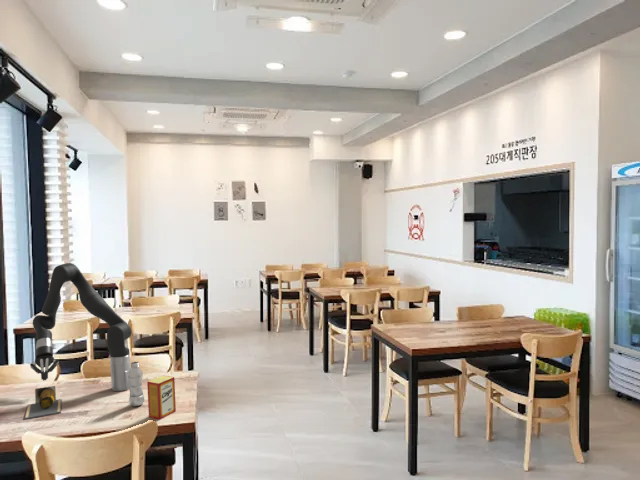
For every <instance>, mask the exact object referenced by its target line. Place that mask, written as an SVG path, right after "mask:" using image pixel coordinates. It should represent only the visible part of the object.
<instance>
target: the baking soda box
mask: <svg viewBox="0 0 640 480" xmlns="http://www.w3.org/2000/svg"><path fill="white" fill-rule="evenodd" d="M146 383H147V384H146V385H147V403H148V405H147V406H148V407H147V408H148V418H151V419H155V420H162V419H164V418H167V417H168V416H170V415H171V414H173V413H176V411H177V409H176V386H175V385H176V384H175V383H176V381H175V376H170V375H160V376H158V377H154V378H152V379H150V380H148V381H147V382H146Z"/></svg>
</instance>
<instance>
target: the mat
mask: <svg viewBox="0 0 640 480" xmlns="http://www.w3.org/2000/svg"><path fill="white" fill-rule="evenodd" d="M61 411H62V398H60V399H56V400H54V402H53V404H52V406H51V407H49V408H42V407H41V406H40V403H30V404H27V406H26V411H25V415H24V420H30V419H37V418H40V417H45V416H46V417H47V416H52V415H58V414H61V413H62V412H61Z"/></svg>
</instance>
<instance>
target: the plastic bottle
mask: <svg viewBox="0 0 640 480" xmlns="http://www.w3.org/2000/svg"><path fill="white" fill-rule="evenodd" d="M130 368H131V370H130V371H129V373H128V379H129V384H130V388H129V399H128V402H129V405H130V406H131V407H138V406H139V407H140V406H141V405H143V404H144V402H145V396H144V391H143V376H144V375H143V373H144V372H143V371H142V369H141V368H140V362H139V361H133V362H130Z"/></svg>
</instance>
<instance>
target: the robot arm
mask: <svg viewBox="0 0 640 480" xmlns="http://www.w3.org/2000/svg"><path fill="white" fill-rule="evenodd" d="M68 282H71V283H72V284H73V285H74V287H75V288H76V289H77V293H78V297H79V300H80V303H81V305H82V306H83V307H84V308H85V309H86V310H87V312H88V313H90V314H91V315H93V316H94V317H96V318H98V319H100V320H101V321H103V322H105V323H106V324H107V325H108V326H109V327H108V329H107V330H106V331H107V332H106V342H107V351H108V353H109V358H110V359H109V360H110V362H109V363H110V379H111V380H110V381H111V383H110V385H111V391H114V392H123V391H128V390H130V384H129V379H128V373H129V371H130V370H131V357H130V348H129V347H126V345H125V344H126V343H125V341H126V340H127V339H129V338H131V336H132V328H131V326H130V325H129V324H128V322H127V321H125V320H124V319H123V318H122V317H120V315H119V314H118V313H117V312H116V311H115V310H113V308H112V307H111V306H110V305H109V304H108V303H107V301H106V300H105V299H104V298H103V297H102V296H101V295H100V293H99V292H97V290H95V288H94V286H92V285H91V283H90V282H89V281H88V280H87V278H86V277H85V275H84V274H83V273H82V272H81V270H80V269H79V267H78V265H76V264H75V263H72V262H67V263H62V264H59V265H57V266H55V267H54V269H53V270H52V273H51V277H50V282H49V287H48V291H47V296H46V299H45V301H44V303H43V306H42V309H41V312H42V314H43V315H42V314H41V315H40V314H38V315H36V316H34V318H33V320H32V327H33V329H34V332H35V335H36V344H35V359H34V362H33V363H29V366H30V369H32V370H33V371H34V372H35V373H36V374H40V378H41V380H42V381H47V380H48V379H49V373H51V372H53V370H54V369H56V367H57V366H58V365H59V362H60V361H59V360H58V359H55V357H54V346H53V345H54V343H53V333H52V331H51V330H53V329H54V327H55V326H56V323H57V322H56V319H57V312H58V310H59V307H60V305H61V301H62V300H61V299H62V297H61V296H62V295H61V290H62V287H63V285H64V284H65V283H68ZM37 366H38V367H37Z"/></svg>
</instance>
